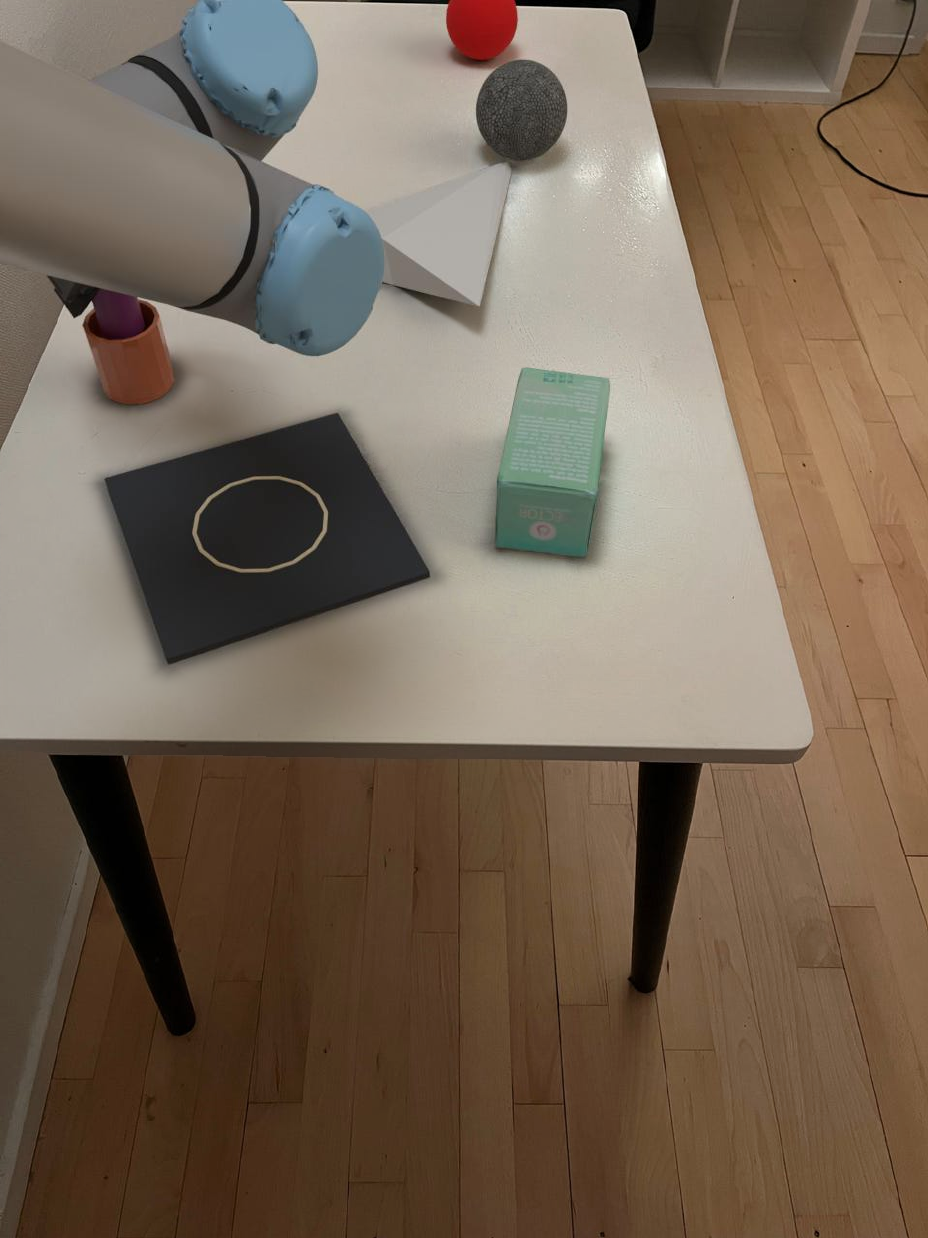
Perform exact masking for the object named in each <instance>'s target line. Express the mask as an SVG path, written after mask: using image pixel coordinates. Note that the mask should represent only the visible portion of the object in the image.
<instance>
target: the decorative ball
mask: <svg viewBox="0 0 928 1238" xmlns="http://www.w3.org/2000/svg"><path fill="white" fill-rule="evenodd" d="M567 99H568V98H567V95H566V92H565V89H564V87H563V85H562V83H561V81H560V79H559V78H558V76H557V75H556V74H555V72H553V71H552V70H551V69H550V68H548V67H547V66H546V65H544V64H542V63H541V62H538V61H535V60H531V59H515V60H511V61H510V60H509V61H508V62H505V63H503V64H501V65H499V66H498V67H496V68H495V69H494V70H493V71H491V72H490V74H489V75H487V77H486V78H485V80H484V82H483V84H482V85H481V87H480V89H479V92H478V95H477V98H476V103H475V120H476V124H477V128H478V130H479V133H480V135H481V138H482V139H483V140H484V143H486V145H487V146H488V147H489V148H490V149H491V150H492V151H493V152H494V153H496V154H497V155H499V156H500V157H503V158H504V159H508V160H510V161H518V162H522V161H530V160H534V159H536V158H539V157H541V156H543V155H544V154H546V153H547V152H549V151H550V150H551V149H552V148H553V147H554V146H555V145H556V143H557V142H558V141H559V139H560V138H561V135H562V134H563V132H564V129H565V127H566V123H567V118H568V100H567Z"/></svg>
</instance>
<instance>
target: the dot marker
mask: <svg viewBox="0 0 928 1238" xmlns="http://www.w3.org/2000/svg"><path fill="white" fill-rule="evenodd" d="M138 299H139V297H135V296H131V295H127V294H122V293H118V292H114V291H110V290H106V289H102V288H100V290H99V291H98V293H97V294H96V295H95V296H94V298H93V299H92V301H91V303H92V306H93V308H94V310H95V313H96V316H97V319H98V322H99V326H100V329H101V332H102V335H103V336H104V337H105V338H107V339H109V340H122V339H127V338H131V337H135V336H137V335H139V334H140V333H142V332H143V331H144V329H145V323H144V319H143V316H142V312H141V308H140V305H139V301H138Z"/></svg>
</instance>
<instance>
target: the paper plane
mask: <svg viewBox="0 0 928 1238" xmlns="http://www.w3.org/2000/svg"><path fill="white" fill-rule="evenodd" d="M512 172H513V171H512V168H511V166H510V164H509V163H508V161H507V160H504V161H502V162H499V163H496V164H494V165H490V166H487V167H485V168H482V169H479V170H476V171H474V172H470V173H468V174H465V175H462V176H460V177H457V178H454V179H451V180H448V181H445V182H442V183H440V184H437V185H434V186H432V187H431V186H430V187H429V188H425V189H423V190H420V191H417V192H414V193H412V194H409V195H406V196H403V197H401V198H397V199H394V200H392V201H389V202H386V203H383V204H380V205H377V206H374V207H372V208H369V209H367V210H364V211H365V212H366V213H367V214H368V215H369V216H370V217H371V218H372V220H373V221H374V223H375V224H376V226H377V228H378V230H379V232H380V235H381V238H382V242H383V248H384V257H385V259H384V275H383V280H382V283H385V284H388V285H392V286H395V287H400V288H403V289H407V290H411V291H416V292H420V293H423V294H428V295H431V296H435V297H439V298H444V299H448V300H452V301H455V302H460V303H464V304H468V305H471V306H476V307H481V302H482V297H483V295H484V290H485V285H486V281H487V277H488V273H489V268H490V266H491V260H492V256H493V252H494V247H495V243H496V239H497V235H498V231H499V226H500V222H501V217H502V214H503V209H504V206H505V202H506V196H507V193H508V188H509V184H510V180H511V175H512Z"/></svg>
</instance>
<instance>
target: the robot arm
mask: <svg viewBox="0 0 928 1238" xmlns="http://www.w3.org/2000/svg"><path fill="white" fill-rule="evenodd" d="M317 57H318V56H317V51H316V49H315V46H314V43H313V40H312V38H311V36H310V33H308V31H307V29H306V28H305V25H304V24H303V23H302V22H301V21H300V19H299V17H298V16H297V14H296V13H295V12H294V11H293V10H292V9H291V7H289V5H287V3H285V2H284V1H283V0H198V1H197V3H196V4H195V6H192V7H191V8H190V9H188V10H187V13H186V16H184V17H183V19H182V22H181V28H180V29H179V30H178V31H177V32H176V33H174V34H173V35H172V36H171V37H168V38H167V39H165V40H163V41H161V42H159V43H157V44H155V45H154V46H151V47H149V48H147V49H145V50H143V51H141V52H139V53H138V54H136V55H134V56H132V57H130V58H128V60H127V61H125V62H123V63H121V64H118V65H116V66H115V67H112V68H111V69H108V70H105V71H104V72H101V73H100V74H98V75H96V76H93V77H92V78H90V79H85V78H82V77H80V76H78V75H76V74H75V73H71V72H69V71H68V70H65V69H63V68H61V67H59V66H57V65H54V64H53V63H50V62H48V61H46V60H44V59H42V58H40V57H38V56H35V55H33V54H31V53H29V52H26V51H24V50H22V49H20V48H18V47H15V46H14V45H12V44H9V43H7V42H5V41H2V40H1V39H0V265H3V266H8V267H12V268H16V269H20V270H24V271H28V272H32V273H36V274H40V275H44V276H46V277H47V279H48V280H49V281H50V283H51V284H52V285H53V287H54V288H53V291H54V292H55V294H56V295H57V297H58V298H59V299H60V301H61V302H62V304H63V305H64V307H65V308H66V310H67V311H68V312H69V313H70V315H71V316H72V318H73V319H76V318H78V317H79V316H82V315H83V313H84V312H85V311H86V310H87V308H88V306H89V305H90V304H91V303H92V299H93V298H94V296H95V295H96V294H97V293H98V291H99V290H100V288H102V289H106V290H110V291H114V292H118V293H122V294H127V295H131V296H135V297H137V298H138V299H143V300H148V301H150V302H151V301H152V302H156V303H159V304H164V305H168V306H171V307H174V308H176V309H177V308H178V309H181V310H183V311H187V312H190V313H194V314H199V315H203V316H207V317H211V318H214V319H218V320H224V321H226V322H229V323H232V324H235V325H238V326H240V327H243V328H245V329H247V330H249V331H252V332H253V333H255V334H256V335H258V336H259V339H260V340H262V341H264V342H265V343H267V344H269V345H277V346H281V347H283V348H286V349H287V350H290V351H292V352H294V353H296V354H299V355H302V356H307V357H321V356H326V355H328V354H330V353H334V352H335V351H337V350H339V349H341V348H343V347H345V345H347V344H348V343H349V342H350V341H351V340H352V339H354V337H356V336H357V334H358V333H359V332H360V331H361V329H362V328H363V327H364V325H365V324H366V323H367V321H368V319H369V317H370V316H371V313H372V312H373V310H374V304H375V302H376V299H377V297H378V293H379V291H380V290H381V288H382V286H383V285H382V284H383V282H382V280H383V275H384V259H385V257H384V248H383V242H382V238H381V235H380V232H379V230H378V228H377V226H376V224H375V223H374V221H373V220H372V218H371V217H370V216H369V215H368V214H367V213H366V212H365V211H366V210H364V209H362V208H361V207H359V206H358V205H356V204H354V203H352V202H350V201H348V200H346V199H344V198H342V197H340V196H338V195H336V194H335V193H334V191H333V190H331V189H330V188H329V187H328V188H327V187H326V186H322V185H321V184H312V183H310V182H308V181H306V180H305V179H304V180H303V179H301V178H299V177H298V176H295V175H293V174H292V173H291V174H290V173H288V172H287V171H284V170H282V169H280V168H277V167H275V166H273V165H270V164H268V163H266V162H264V161H263V160H264V159H265V158H266V156H268V155H269V154H270V152H271V151H272V150H273V148H274V147H275V146H276V145H277V144H278V143H279V142H280V140H282V138H284V136H285V135H286V134H288V133H290V132H292V131H293V130H294V129H295V128H296V127H297V123H298V121H299V120H300V117H301V116H302V114H303V113H304V111H305V110H306V108H307V106H308V105H309V103H310V101H311V100H312V99H313V96H314V94H315V91H316V88H317V85H318V79H319V78H318V77H319V64H318V58H317Z"/></svg>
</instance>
